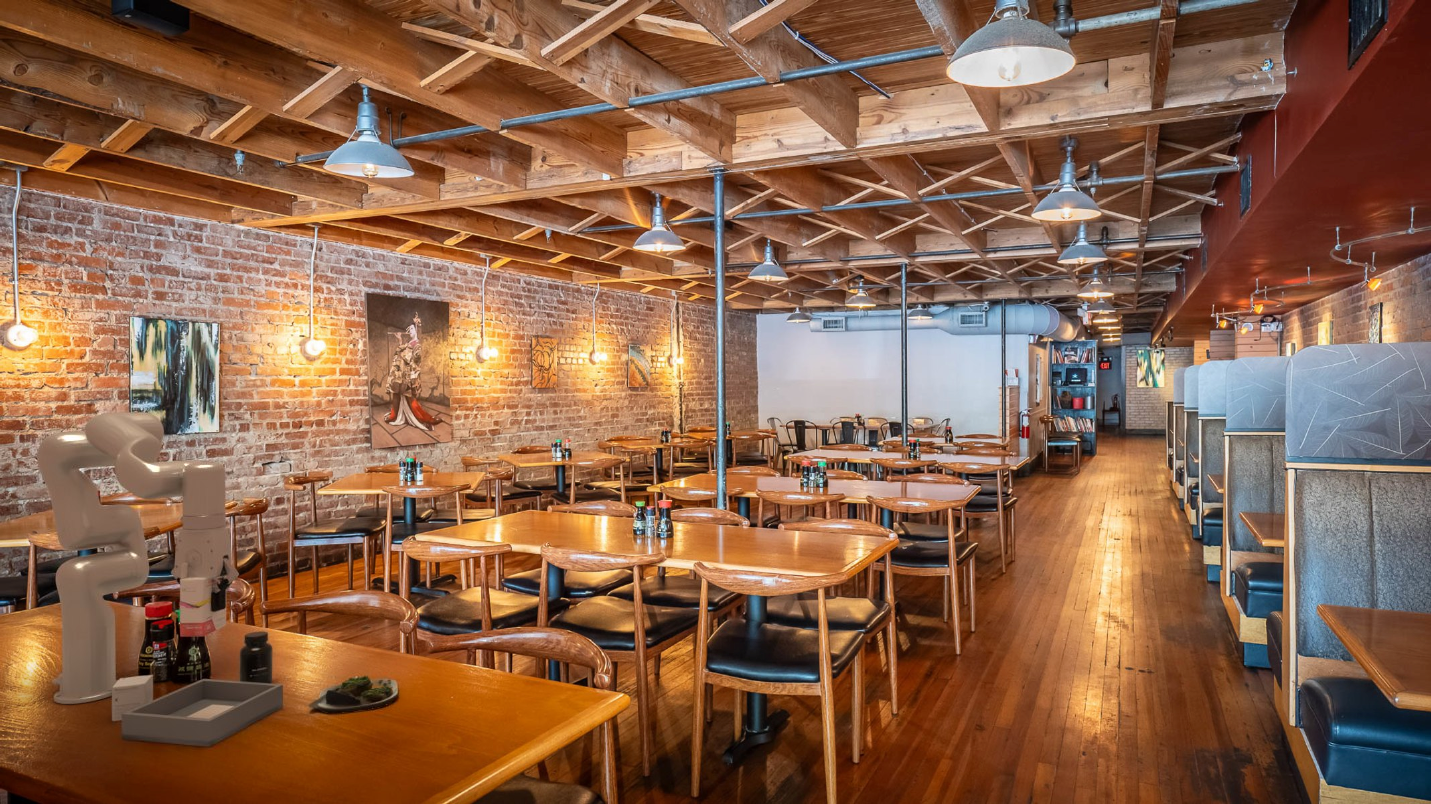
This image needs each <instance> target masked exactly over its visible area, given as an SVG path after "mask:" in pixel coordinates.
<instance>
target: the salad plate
mask: <svg viewBox="0 0 1431 804" xmlns="http://www.w3.org/2000/svg"><path fill="white" fill-rule="evenodd" d="M373 686H374V687H375V686H383V687H376V688H374V689H372V687H373ZM398 686H399V684H398V682H397V681H396V680H395V679H390V678H377V679H373V680H372V679H370V677H369V676H368V675H363V676H359V675H354V676H353V677H349V678H348V680H347V679H345V680H344V681H343V682H342V683H340V684H335V685H331V686H329V687H325V688H324V689H322V690H321V692H320V693H319V696H318V699H316V700H314V701H312V702H311V703H309V705H308V707H309V709H311V708H313V709H316V710H319V711H320V712H322V713H325V712H327V713H326V714H330V713H341V714H343V713H342V712H351V713H355V712H354V711H359V710H367V711H369V710H368V709H372V708H377V709H379V708H378V707H381V706H384V705H386V704H388V705H390V704H392V703H393V702H394V701H395V700H396V699H397V697H398V696H399V687H398ZM392 701H393V702H392ZM391 702H392V703H391ZM389 703H390V704H389ZM386 706H387V705H386ZM384 707H385V706H384ZM381 708H382V707H381ZM372 710H373V709H372ZM359 712H360V711H359Z"/></svg>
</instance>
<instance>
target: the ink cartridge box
mask: <svg viewBox="0 0 1431 804" xmlns="http://www.w3.org/2000/svg"><path fill="white" fill-rule="evenodd" d="M187 571H188V563H185V564H183V565H182V569H181V579H180V584H179V603H180V604H179V617H180V619H179V622H180V623H179V628H180V629H179V635H180V637H182V638H183V637H205V636H207V635H209V634H211V633H213V632H215V631H217V630H219V629H221V628H223V627H225V626H227V607H226V608H225V609H222V610H219V611H216V612H212V611H211V593H212V592H214V590H213V587H212V580H208V579H207V578H199V577H188V578H187ZM225 576H226V577H227V575H225ZM218 582H219V584H220V580H219V579H218Z"/></svg>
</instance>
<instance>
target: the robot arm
mask: <svg viewBox="0 0 1431 804" xmlns="http://www.w3.org/2000/svg"><path fill="white" fill-rule="evenodd" d="M164 432H165V431H164V425H163V423H162V421H161V420H160V418H158V416H156V415H155V414H152V413H150V412H145V411H139V412H138V411H137V412H133V411H132V412H129V411H128V412H105V413H101V414H97V415H96V416H93V417H92V418H90V420H88V421H87V422H86V424H85V426H84V430H71V431H70V430H69V431H62V432H57V433H53V434H51V435H48V436H47V437H45V438H44V439H42V441H41V442H40V444H39V445H38V446H39V447H38V450H37V456H36V457H37V459H36V460H37V461H36V462H37V466H38V470H39V472H40V475H41V477H42V479H43V481H44V484H45V485H46V487H47V489H48V492H49V495H50V499H51V507H52V513H53V518H54V524H55V530H56V534H57V540H58V542H59V544H60V547H61V548H63V549H64V550H65V551H73V552H74V551H75V552H76V551H84V550H91V549H92V550H93V549H98V548H105V547H112V549H113V551H106V552H99V553H93V554H87V555H81V556H77V557H74V558H70V559H69V560H67V561H65V562H64V563H62V564H61V565H60V566H59V567H58V569H57V570H56V573H55V585H56V588H57V593H58V597H59V602H60V603H59V604H60V610H61V632H62V634H61V635H62V636H61V638H62V641H61V643H62V644H61V645H62V647H61V648H62V653H61V655H62V672H61V673H59V674H57V677H56V678H52V681H51V684H52V685H56V686H59V691H57V692H56V693H55V694H54V695H53V700H54V702H56V704H57V703H58V704H63V705H73V704H74V705H75V704H84V703H90V702H94V701H100V700H102V699H106V698H110V697H112V687H113V686H114V685H115V684H116V683H117V682H118V680H119V679H116V678H117V677H116V676H117V675H116V617H115V616H116V615H115V611H114V609H113V608H112V606H111V605H110V604H109V603H108V602H107V601H106V600H105V599H104V596H106V595H109V594H113V593H118V592H124V591H127V590H132V589H135V588H136V589H137V588H139V587H141V586H142V585H144V584H145V583H146V582H147V580H148V577H149V575H150V564H149V557H148V551H147V545H146V541H145V534H144V533H145V532H144V528H143V523H142V520H141V517H140V515H139V513H138V512H137V511H136V509H135V508H133V507H132V506H130V505H128V504H125V503H124V504H121V503H120V504H119V503H117V504H110V505H109V504H108V505H102V504H101V502H100V501H101V500H100V497H99V491H98V486H97V485H96V483H94V481H93V480H92V479H91V478H90V477H89V476H88V475H87V474H85V473H84V472H83V471H81V470H80V469H82V468H85V469H86V468H96V467H97V468H98V467H111V466H114V473H115V478H116V479H117V482H118V483H119V485H120V486H121V487H122V488H123V489H125V490H126V491H128V492H129V493H130V494H132V495H133V496H135V497H137V498H141V499H142V500H143V499H144V500H161V499H168V498H169V499H170V498H177V497H178V498H179V497H182V516H181V517H180V523H182V529H179V532H178V535H177V540H176V546H175V554H174V555H175V558H174V567H173V568H172V570H171V571H170V574H171V575H172V577H173V578H175V580H176V582H177V584H179V585H180V579H181V569H182V565H183V564H185V563H188V571H187V578H188V577H199V578H207V579H208V580H212V587H213V590H214V592H212V593H211V611H212V612H216V611H219V610H222V609H225V608H226V609H227V590H229V588H230V586H231V585H232V584H233V582H234V581H235V580H236V579H237V578H238V576H239V575H240V573H239V572H238V570H237V568H235V566H234V565H233V558H232V557H233V554H232V544H231V539H230V538H231V537H230V533H229V529H228V528H227V527H226V526H227V525H226V524H227V523H226V519H227V518H226V468H225V466H224V464H222V463H220V462H205V461H202V460H196V459H188V460H170V461H160V462H159V461H158V462H156V460H157V459H159V457H160V454H161V451H162V447H161V446H162V444H161V442H162V440H163V438H164ZM225 575H227V577H226V576H225ZM218 579H219V580H220V584H219V582H218Z"/></svg>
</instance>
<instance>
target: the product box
mask: <svg viewBox="0 0 1431 804" xmlns="http://www.w3.org/2000/svg"><path fill="white" fill-rule="evenodd" d="M117 680H118V682H117V683H116V684H115V685H114V686H113V687H112V696H111V721H112V722H116V721H117V722H119V721H122V714H123V713H125V712H127V711H130V710H132V709H134V708H137V707H139V706H141V705H144V704H146V703H148V702H151V701H153V700H154V675H153V674H151V675H150V674H148V675H138V676H137V675H136V676H130V677H120V678H119V679H117Z"/></svg>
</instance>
